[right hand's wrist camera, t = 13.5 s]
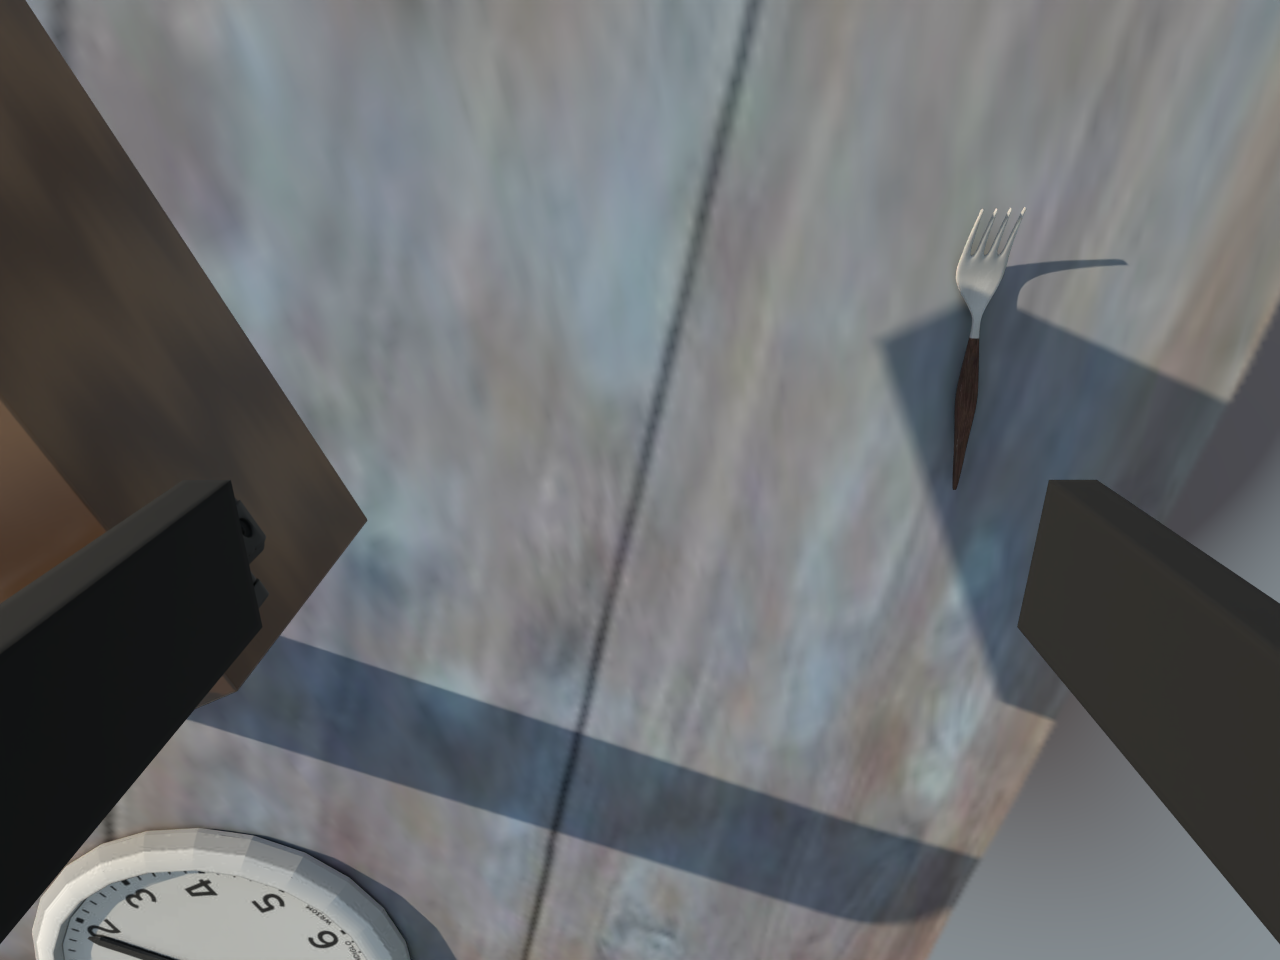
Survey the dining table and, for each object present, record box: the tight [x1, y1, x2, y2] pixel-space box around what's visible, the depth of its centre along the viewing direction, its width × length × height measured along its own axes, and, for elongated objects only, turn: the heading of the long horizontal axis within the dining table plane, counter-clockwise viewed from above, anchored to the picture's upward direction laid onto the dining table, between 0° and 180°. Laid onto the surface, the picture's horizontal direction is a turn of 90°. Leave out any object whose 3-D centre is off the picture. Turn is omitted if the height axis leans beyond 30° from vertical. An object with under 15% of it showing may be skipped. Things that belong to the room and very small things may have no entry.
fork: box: [953, 207, 1026, 490], centre depth 42 cm, size 3×16×2 cm, turn 2°
